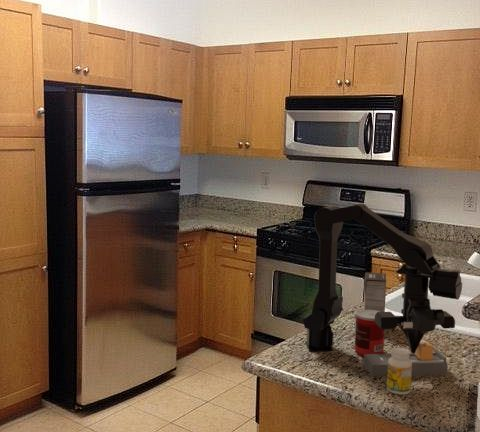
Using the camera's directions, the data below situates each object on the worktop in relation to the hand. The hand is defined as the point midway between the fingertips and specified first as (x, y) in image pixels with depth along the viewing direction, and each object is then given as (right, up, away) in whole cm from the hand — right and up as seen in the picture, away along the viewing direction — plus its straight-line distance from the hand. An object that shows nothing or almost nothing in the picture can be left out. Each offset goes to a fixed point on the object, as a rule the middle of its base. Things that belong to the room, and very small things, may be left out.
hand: (412, 352), depth 142 cm
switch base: (-2, -5, +1) cm, 5 cm away
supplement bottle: (-7, -6, -11) cm, 14 cm away
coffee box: (-2, 0, +34) cm, 34 cm away
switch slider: (+3, -1, +1) cm, 3 cm away
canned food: (-8, -3, +12) cm, 15 cm away
